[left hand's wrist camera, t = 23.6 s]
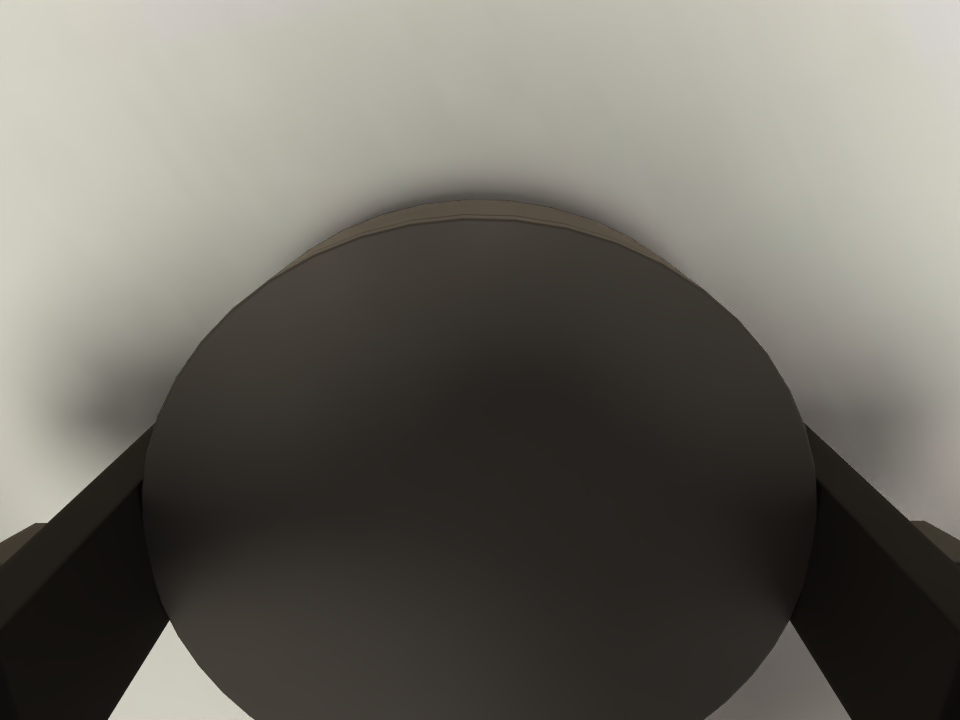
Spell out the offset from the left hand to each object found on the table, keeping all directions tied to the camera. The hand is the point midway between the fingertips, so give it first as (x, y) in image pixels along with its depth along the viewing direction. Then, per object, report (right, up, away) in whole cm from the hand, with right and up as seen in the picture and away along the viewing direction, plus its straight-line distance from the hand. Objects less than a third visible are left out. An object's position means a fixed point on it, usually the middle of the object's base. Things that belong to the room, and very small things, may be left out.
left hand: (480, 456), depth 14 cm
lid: (0, -1, -3) cm, 3 cm away
